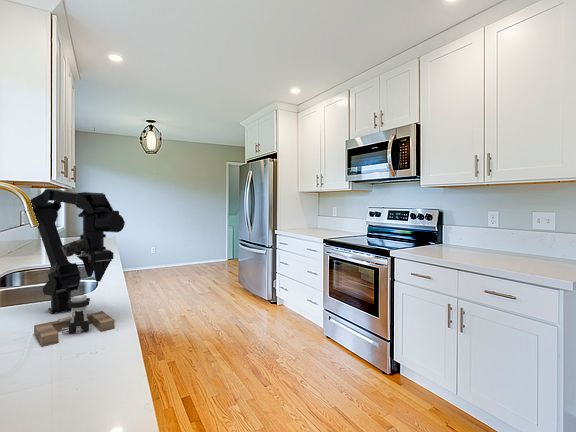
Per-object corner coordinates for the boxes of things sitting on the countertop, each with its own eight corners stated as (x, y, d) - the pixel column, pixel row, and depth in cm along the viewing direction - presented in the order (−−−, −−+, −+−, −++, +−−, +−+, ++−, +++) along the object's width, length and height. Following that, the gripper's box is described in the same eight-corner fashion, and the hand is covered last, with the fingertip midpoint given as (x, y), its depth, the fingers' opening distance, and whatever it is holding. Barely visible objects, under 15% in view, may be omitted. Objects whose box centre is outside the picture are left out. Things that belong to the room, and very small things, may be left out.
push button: (60, 337, 85) (60, 301, 85) (63, 330, 90) (63, 296, 89) (89, 333, 88) (89, 298, 88) (91, 326, 93) (90, 293, 93)
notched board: (34, 334, 87) (34, 323, 87) (102, 318, 100) (102, 309, 99) (41, 346, 80) (41, 335, 79) (114, 328, 92) (114, 318, 92)
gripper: (56, 230, 102) (56, 278, 102) (71, 234, 89) (71, 289, 90) (95, 229, 110) (95, 273, 110) (114, 232, 97) (114, 282, 98)
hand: (93, 279), depth 102 cm, fingers open, 9 cm apart
